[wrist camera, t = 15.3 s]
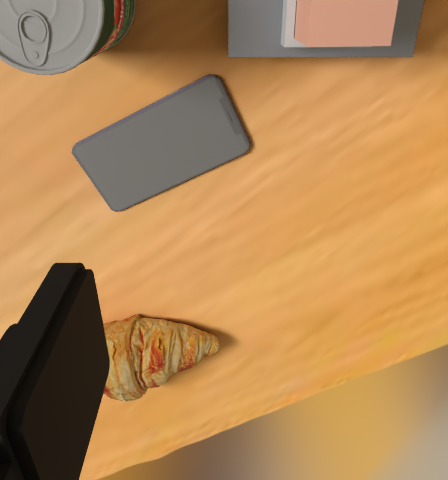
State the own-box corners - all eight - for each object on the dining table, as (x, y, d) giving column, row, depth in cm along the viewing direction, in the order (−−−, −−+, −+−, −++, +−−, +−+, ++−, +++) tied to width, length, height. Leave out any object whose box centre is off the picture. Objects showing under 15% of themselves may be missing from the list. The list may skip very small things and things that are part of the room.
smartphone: (67, 148, 38) (216, 70, 35) (70, 144, 39) (216, 68, 36) (113, 215, 42) (254, 151, 38) (116, 211, 43) (253, 147, 39)
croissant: (214, 295, 52) (208, 308, 44) (228, 375, 52) (225, 403, 44) (47, 323, 53) (12, 341, 45) (62, 401, 53) (30, 433, 45)
